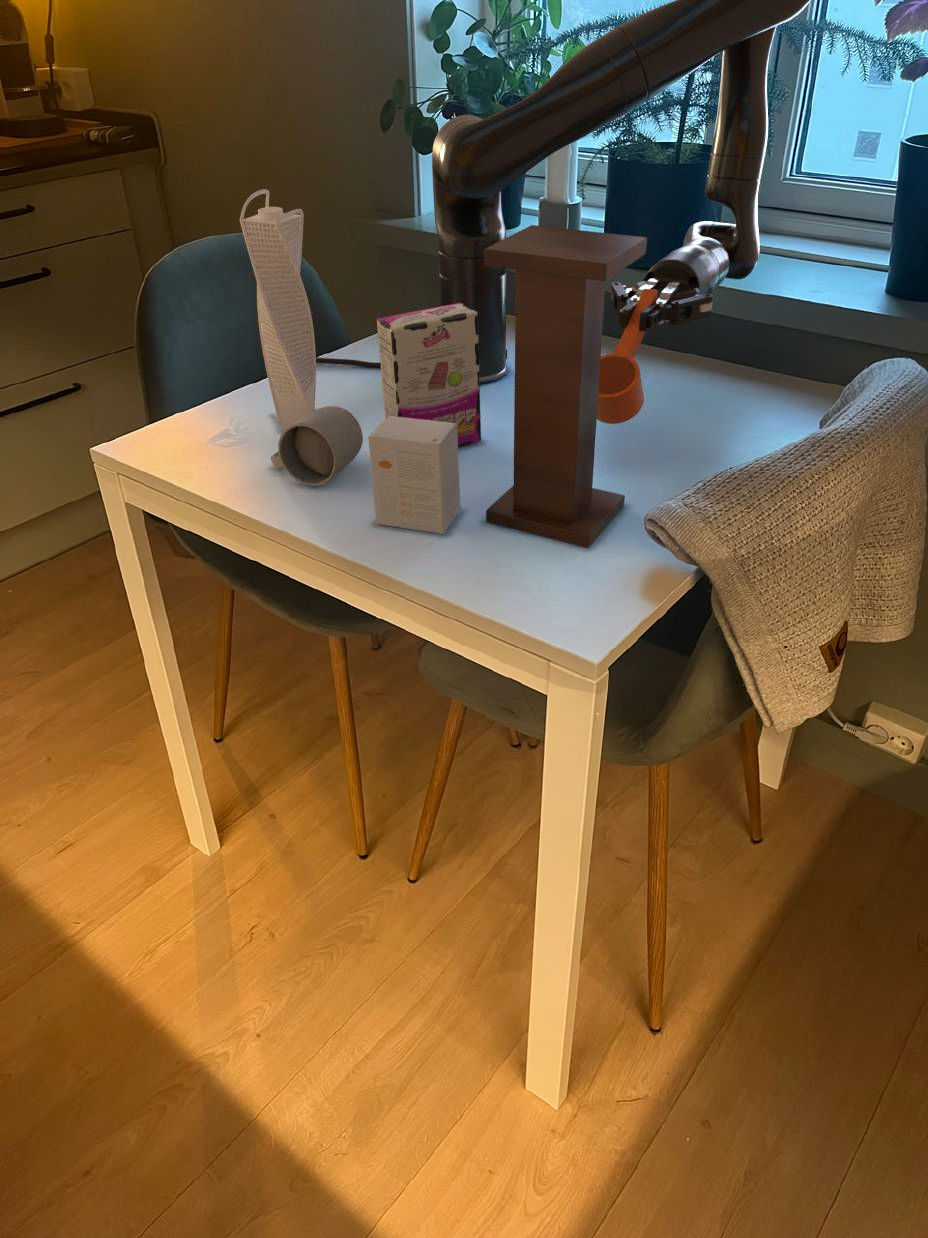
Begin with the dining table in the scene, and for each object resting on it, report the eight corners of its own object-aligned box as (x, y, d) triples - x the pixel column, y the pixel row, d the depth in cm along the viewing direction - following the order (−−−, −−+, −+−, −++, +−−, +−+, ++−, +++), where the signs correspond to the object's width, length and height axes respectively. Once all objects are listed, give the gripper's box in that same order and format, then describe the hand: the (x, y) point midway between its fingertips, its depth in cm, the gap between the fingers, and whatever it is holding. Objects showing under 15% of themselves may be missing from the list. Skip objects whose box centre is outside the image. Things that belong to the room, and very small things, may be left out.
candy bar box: (463, 428, 124) (460, 300, 114) (482, 442, 120) (480, 311, 111) (384, 447, 120) (374, 316, 110) (401, 462, 116) (392, 328, 107)
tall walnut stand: (526, 484, 111) (531, 224, 94) (624, 506, 106) (647, 237, 89) (485, 522, 104) (483, 248, 87) (588, 548, 99) (606, 263, 82)
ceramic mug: (369, 461, 116) (363, 401, 112) (339, 491, 110) (331, 428, 106) (292, 451, 120) (284, 392, 115) (259, 479, 113) (248, 418, 109)
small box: (461, 511, 106) (459, 422, 100) (444, 536, 101) (440, 444, 95) (394, 501, 108) (388, 413, 102) (374, 525, 104) (367, 434, 98)
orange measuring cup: (629, 315, 118) (624, 285, 114) (679, 322, 115) (676, 292, 111) (581, 418, 113) (574, 391, 108) (632, 428, 110) (627, 401, 106)
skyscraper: (265, 413, 129) (232, 190, 113) (319, 405, 131) (295, 184, 115) (274, 436, 123) (240, 203, 107) (331, 428, 125) (306, 198, 109)
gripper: (633, 245, 123) (579, 281, 111) (739, 256, 117) (694, 295, 105) (629, 304, 127) (576, 344, 115) (731, 317, 122) (687, 362, 109)
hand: (633, 321), depth 110 cm, fingers closed on orange measuring cup, 1 cm apart
